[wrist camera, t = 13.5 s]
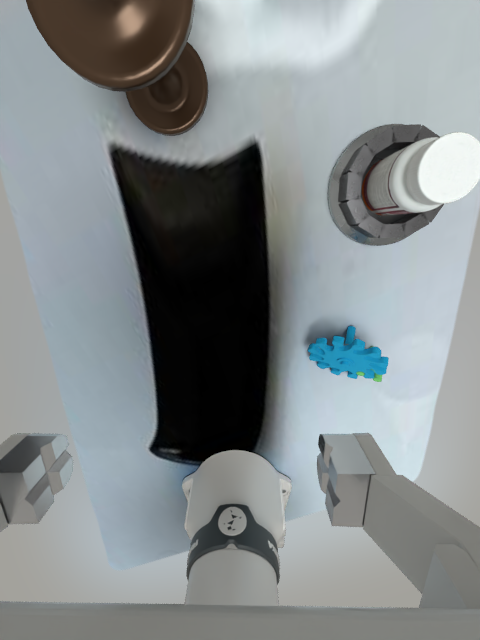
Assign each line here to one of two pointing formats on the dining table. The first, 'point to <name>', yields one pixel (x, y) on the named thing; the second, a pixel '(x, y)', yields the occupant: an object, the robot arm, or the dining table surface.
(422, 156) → the pill bottle
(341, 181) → the notched hollow ring
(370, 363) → the gear
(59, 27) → the candlestick
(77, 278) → the dining table surface
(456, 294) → the dining table surface
